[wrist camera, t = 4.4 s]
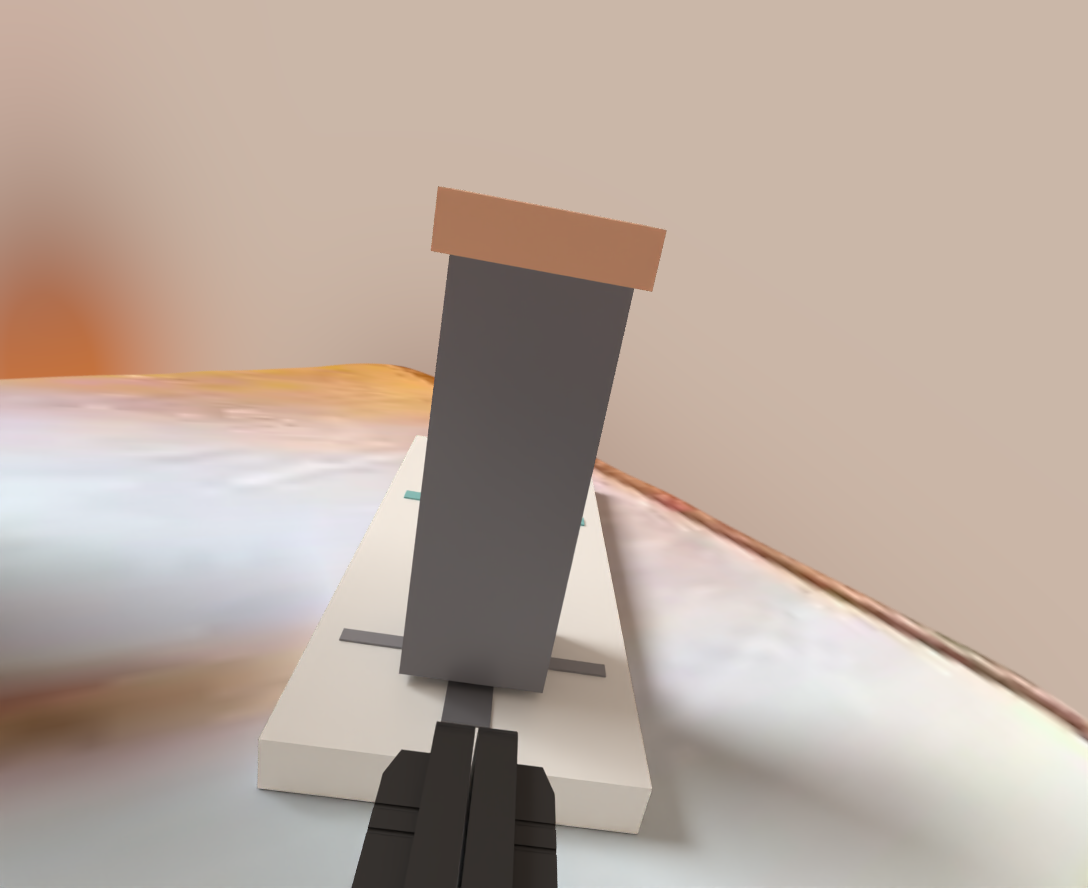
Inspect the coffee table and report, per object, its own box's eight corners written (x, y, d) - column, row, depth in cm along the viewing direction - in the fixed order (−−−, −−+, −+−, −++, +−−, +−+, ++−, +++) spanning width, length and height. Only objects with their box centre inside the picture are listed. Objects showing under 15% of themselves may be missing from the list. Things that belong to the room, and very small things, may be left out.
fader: (384, 671, 22) (437, 186, 16) (407, 602, 25) (456, 189, 20) (556, 695, 22) (666, 230, 16) (554, 623, 26) (642, 224, 20)
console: (257, 788, 19) (258, 736, 19) (413, 462, 44) (416, 433, 43) (637, 834, 20) (652, 786, 20) (583, 489, 45) (589, 462, 44)
